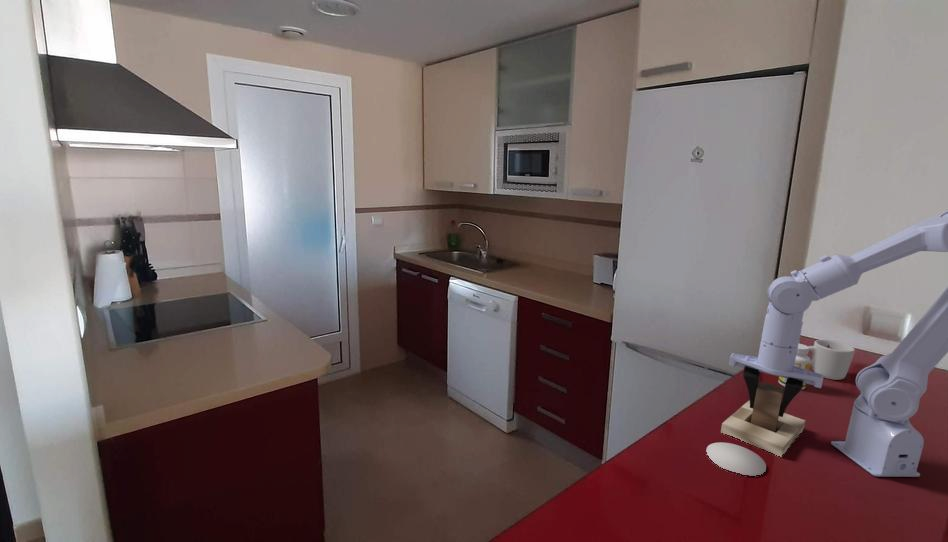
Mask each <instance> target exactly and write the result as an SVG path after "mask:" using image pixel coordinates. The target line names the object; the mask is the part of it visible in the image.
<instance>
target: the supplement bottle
mask: <svg viewBox="0 0 948 542" xmlns="http://www.w3.org/2000/svg"><path fill="white" fill-rule="evenodd" d="M809 352H810V351H809V347H808V345H807V344H802V343H799V344H798V350H797V355H796V360H795V365H794V366H797V367H800V368H803V369H806V370H809V371H810V367H811V365H810V362H811V357H810V356H808V355H809ZM786 381H787V378H783V377H779V376H778V381H777V382H778V383H779V384H780V385H781V386H782V387H785V384H786ZM806 387H807V383H803V386H802V389H801V391H802V390H805V389H806Z"/></svg>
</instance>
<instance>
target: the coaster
mask: <svg viewBox="0 0 948 542" xmlns="http://www.w3.org/2000/svg"><path fill="white" fill-rule="evenodd" d="M705 450H706V451H705V452H707V454H706V456H707V455H708V456H709V458H710V459H711V460H712V461H713V462H714V463H715V464H717V465H718V466H719V468H720V467H721V468H720V469H722V468H723V469H726V470H729V471H732V472H736V473H740V474H742V475H749V476H755V477H757V476H756V475H760V476H761V474H762V475H764V474H765V473H764V472H766V470H767V463H766V462H765V460H764V459H763V458H762V457H761V456H760V455H759V454H757V453H755V451H752V450H750V449H748V448H747V447H743V446H741V445H738V444H734V443H730V442H722V441H721V442H714V443H710V444H709V445H708V446H707V447H706V449H705ZM709 458H708V459H709ZM710 459H709V460H710ZM713 462H712V463H713ZM714 463H713V464H714ZM715 464H714V465H715ZM717 465H716V466H717ZM718 466H717V467H718ZM723 469H722V470H723ZM726 470H725V471H726ZM763 473H764V474H763Z"/></svg>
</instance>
